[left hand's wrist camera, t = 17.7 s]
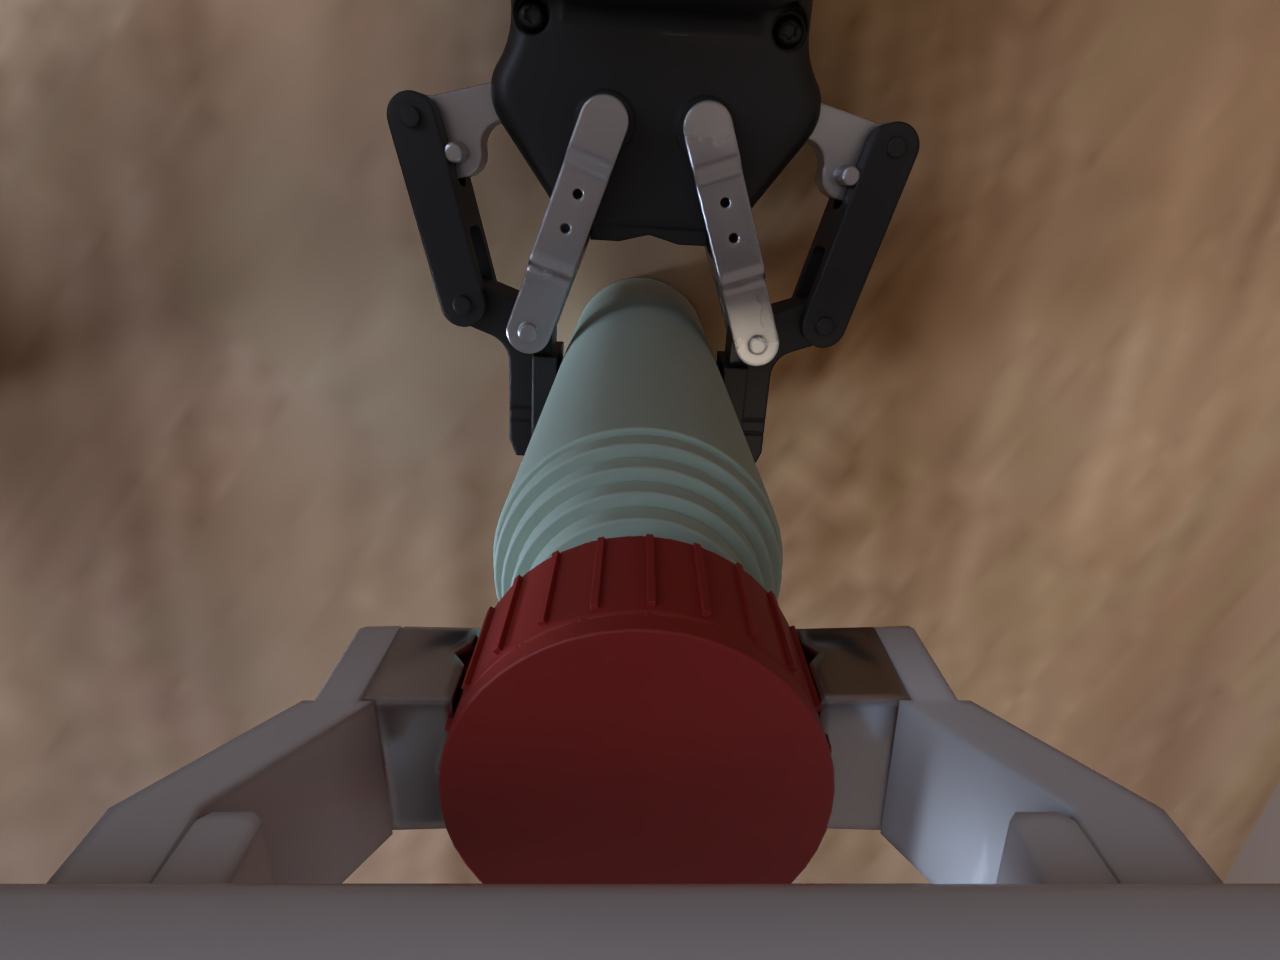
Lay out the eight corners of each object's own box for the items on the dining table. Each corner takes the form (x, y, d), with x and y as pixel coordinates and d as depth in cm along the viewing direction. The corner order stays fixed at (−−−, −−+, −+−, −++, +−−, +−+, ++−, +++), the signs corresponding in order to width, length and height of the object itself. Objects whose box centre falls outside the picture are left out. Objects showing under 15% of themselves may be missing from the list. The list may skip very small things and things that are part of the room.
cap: (754, 828, 11) (778, 972, 9) (452, 779, 11) (411, 916, 9) (843, 565, 10) (896, 668, 8) (497, 498, 9) (458, 587, 7)
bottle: (569, 396, 30) (413, 906, 9) (581, 269, 29) (422, 548, 8) (692, 411, 31) (807, 942, 10) (712, 286, 29) (903, 600, 8)
